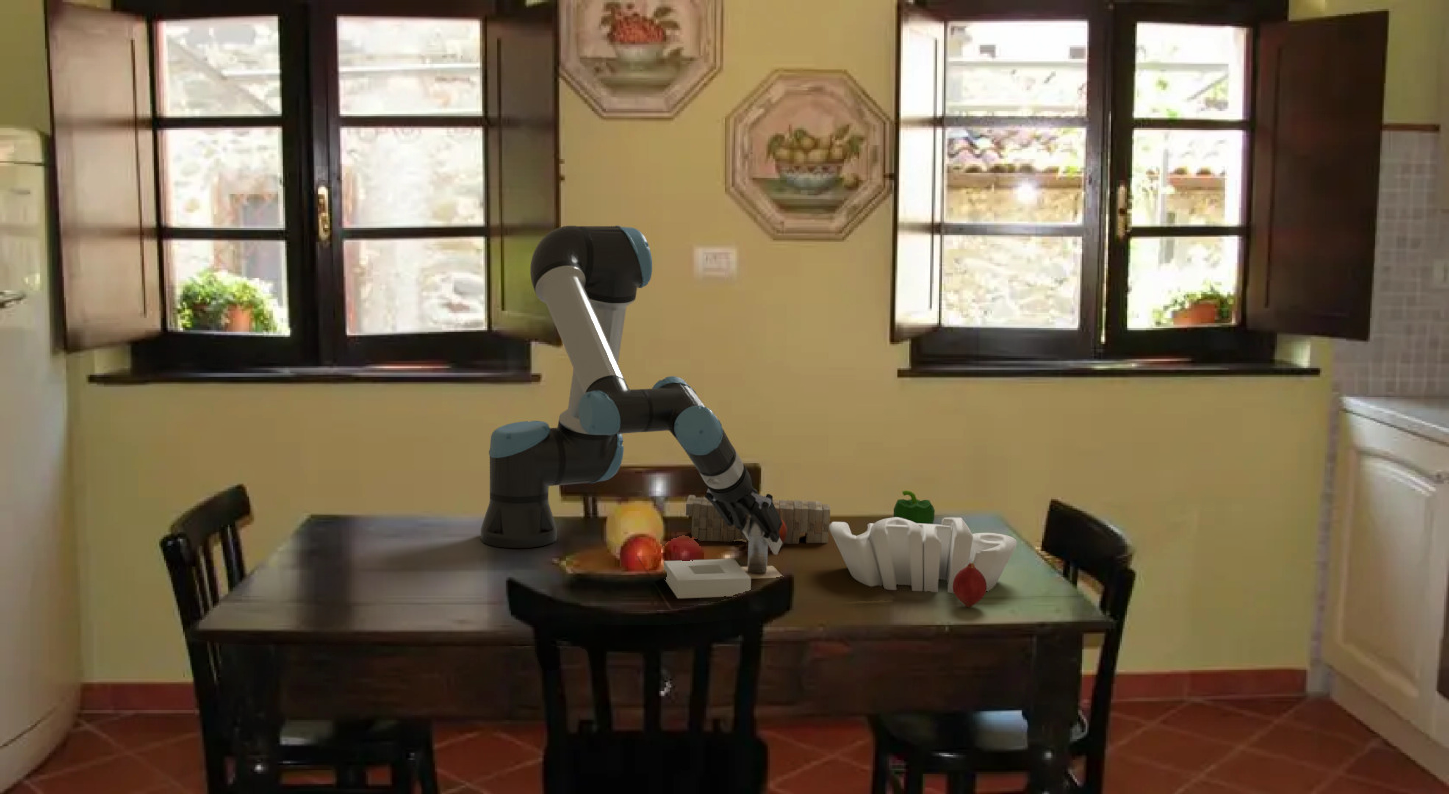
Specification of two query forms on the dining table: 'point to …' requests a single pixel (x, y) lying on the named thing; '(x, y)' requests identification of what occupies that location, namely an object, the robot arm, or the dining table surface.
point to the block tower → (713, 527)
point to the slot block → (706, 578)
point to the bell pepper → (914, 509)
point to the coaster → (769, 573)
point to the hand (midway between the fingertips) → (768, 546)
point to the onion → (969, 585)
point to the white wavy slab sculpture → (920, 553)
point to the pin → (757, 549)
